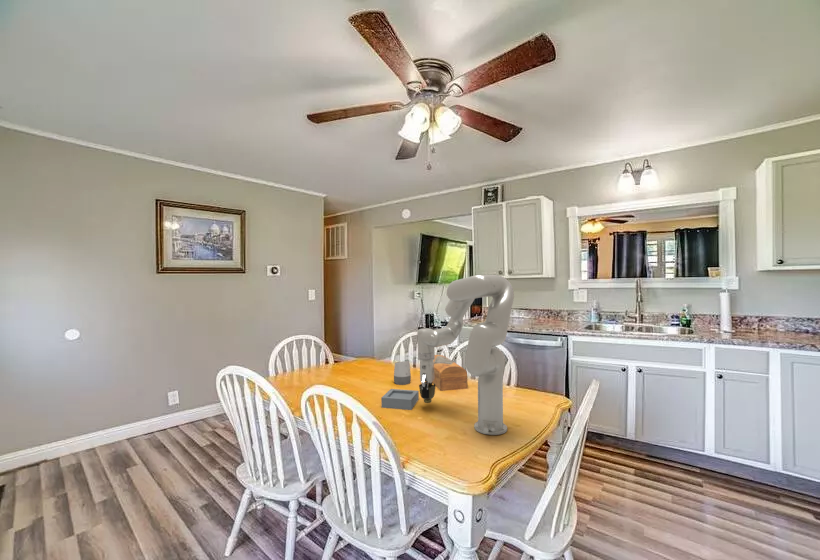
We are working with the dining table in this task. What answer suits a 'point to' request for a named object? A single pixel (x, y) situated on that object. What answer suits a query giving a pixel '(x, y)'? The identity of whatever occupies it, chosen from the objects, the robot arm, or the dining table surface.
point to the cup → (431, 392)
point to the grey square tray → (400, 399)
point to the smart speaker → (402, 373)
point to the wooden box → (449, 374)
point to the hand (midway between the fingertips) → (427, 395)
